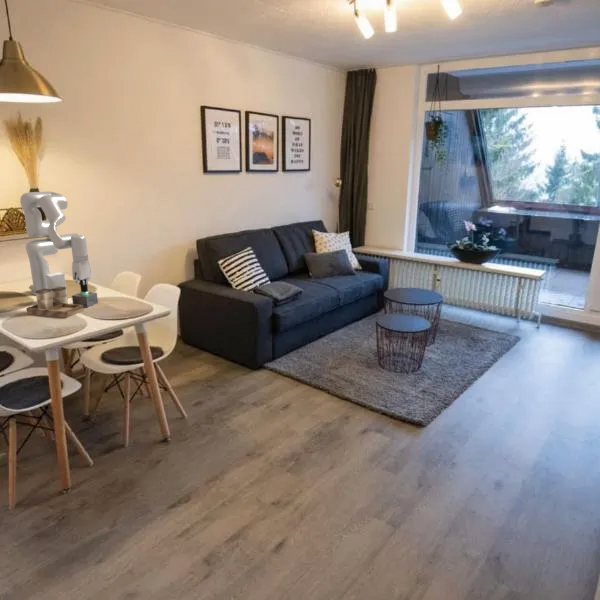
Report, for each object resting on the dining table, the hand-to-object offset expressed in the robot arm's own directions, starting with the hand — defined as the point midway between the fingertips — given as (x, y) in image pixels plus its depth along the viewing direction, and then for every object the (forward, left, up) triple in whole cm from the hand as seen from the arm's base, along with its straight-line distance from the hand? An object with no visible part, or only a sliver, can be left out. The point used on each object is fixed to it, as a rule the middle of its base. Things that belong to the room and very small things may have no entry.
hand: (84, 291), depth 265 cm
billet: (-12, -5, -8) cm, 15 cm away
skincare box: (-20, +3, -8) cm, 22 cm away
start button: (0, 0, -5) cm, 5 cm away
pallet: (-6, -16, -8) cm, 19 cm away
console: (0, 0, -8) cm, 8 cm away
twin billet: (-12, -16, -6) cm, 21 cm away
